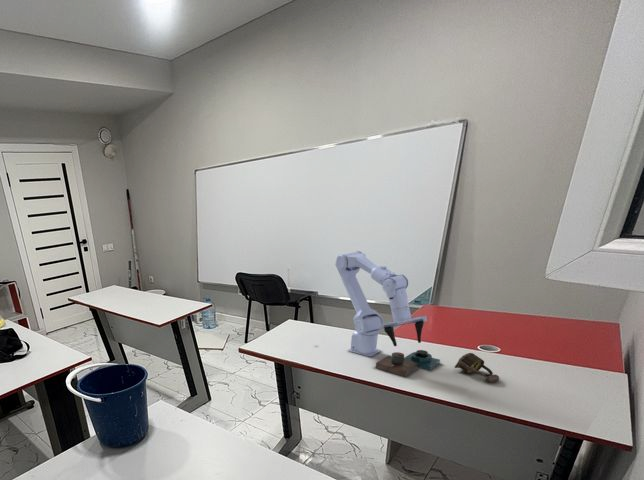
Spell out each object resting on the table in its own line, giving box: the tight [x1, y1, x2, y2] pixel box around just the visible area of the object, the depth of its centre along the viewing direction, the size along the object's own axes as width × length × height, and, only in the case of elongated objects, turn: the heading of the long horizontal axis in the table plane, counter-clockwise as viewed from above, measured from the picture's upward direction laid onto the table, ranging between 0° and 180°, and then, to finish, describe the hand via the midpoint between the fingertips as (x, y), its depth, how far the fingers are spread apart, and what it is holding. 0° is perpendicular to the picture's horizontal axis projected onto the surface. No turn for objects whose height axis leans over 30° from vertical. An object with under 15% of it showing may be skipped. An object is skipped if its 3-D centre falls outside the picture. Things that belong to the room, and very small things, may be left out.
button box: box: [404, 351, 441, 371], centre depth 138 cm, size 10×8×4 cm
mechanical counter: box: [454, 352, 500, 383], centre depth 125 cm, size 7×13×10 cm
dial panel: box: [375, 354, 419, 378], centre depth 136 cm, size 11×9×3 cm
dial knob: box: [391, 351, 405, 365], centre depth 135 cm, size 4×4×4 cm
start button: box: [415, 349, 429, 357], centre depth 137 cm, size 4×4×2 cm
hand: (407, 344), depth 132 cm, fingers open, 7 cm apart
